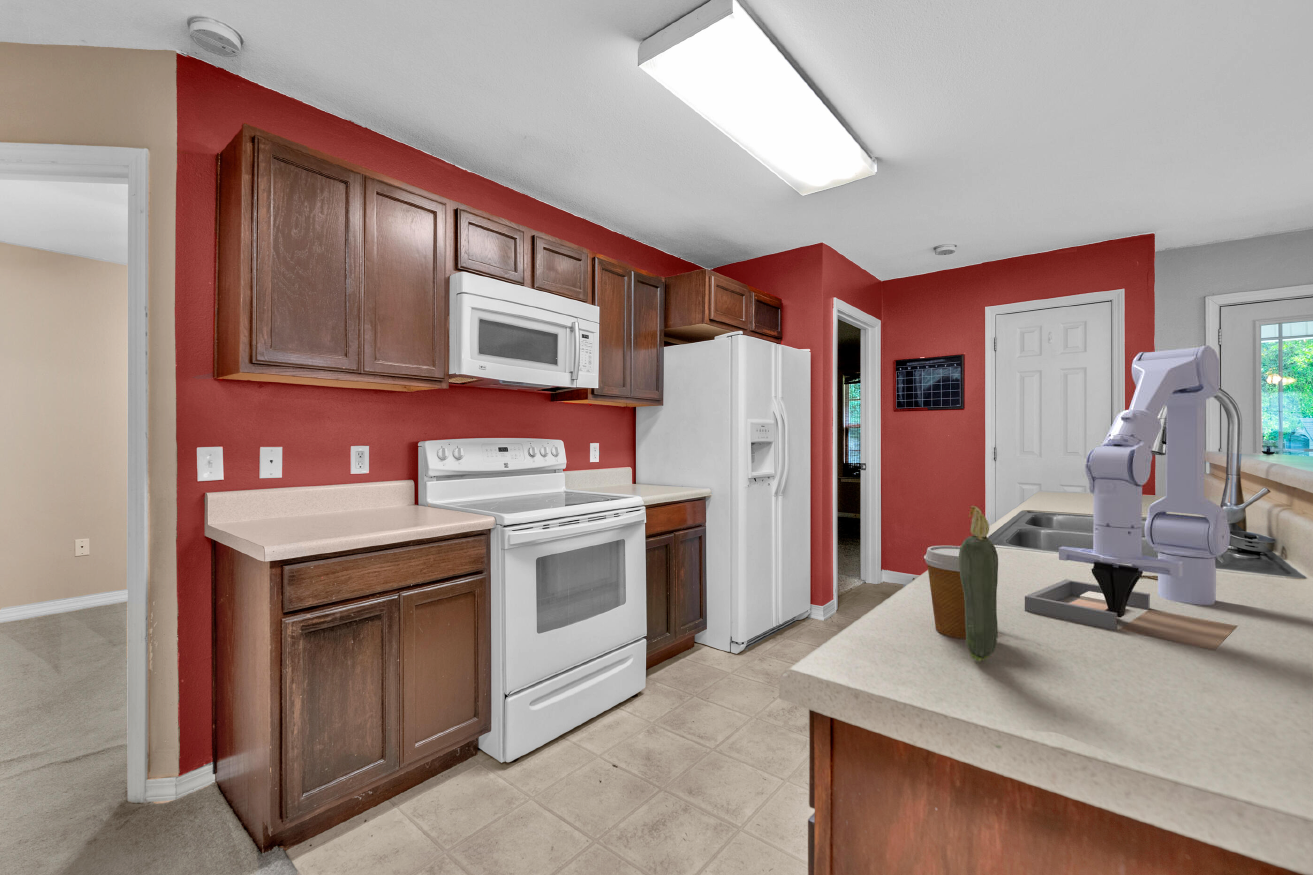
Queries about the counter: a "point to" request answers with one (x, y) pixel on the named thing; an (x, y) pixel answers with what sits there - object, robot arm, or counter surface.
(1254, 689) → the counter surface
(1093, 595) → the cream tile
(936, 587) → the disposable coffee cup
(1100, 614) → the tray
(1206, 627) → the walnut plate
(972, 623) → the vegetable
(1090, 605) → the terracotta tile
